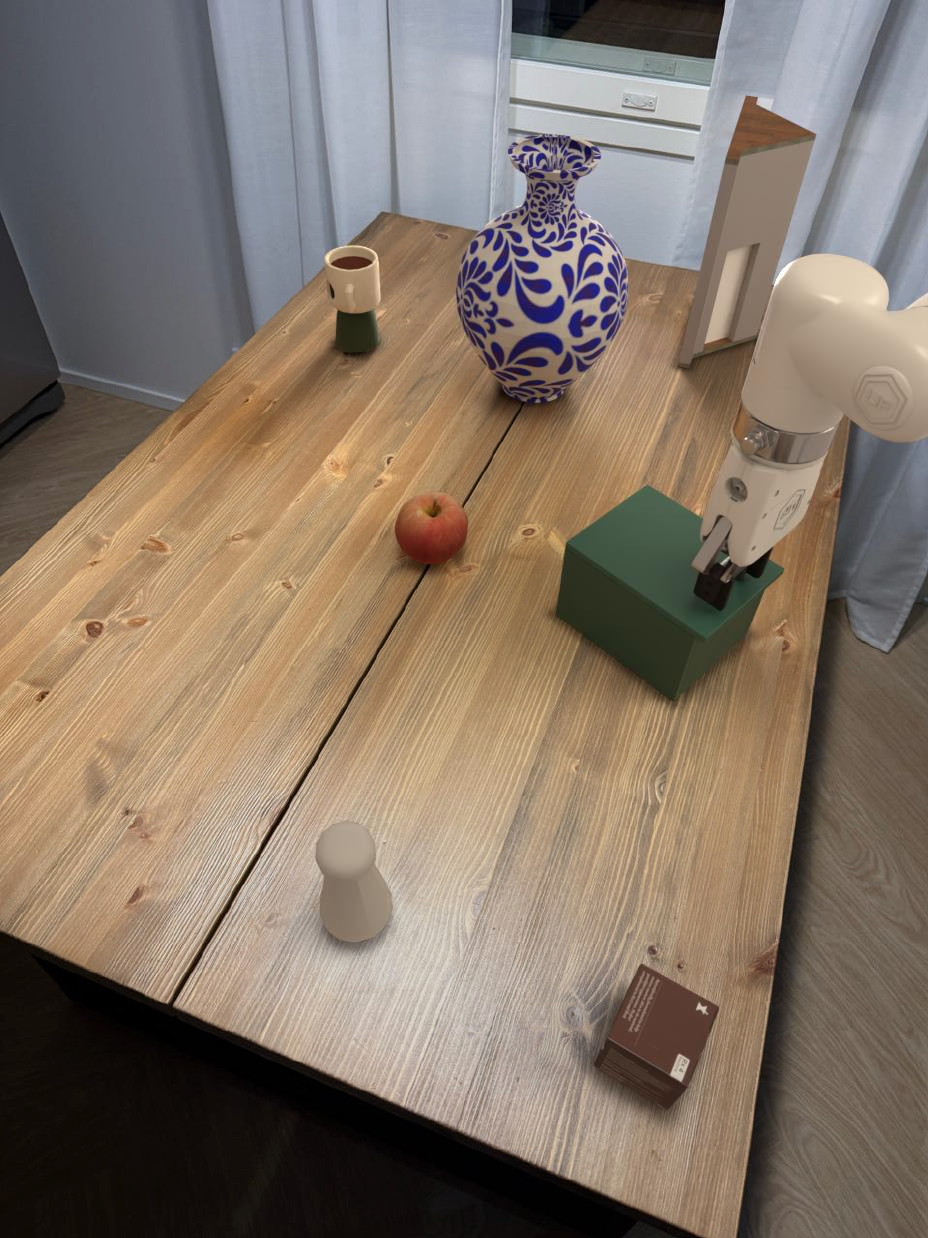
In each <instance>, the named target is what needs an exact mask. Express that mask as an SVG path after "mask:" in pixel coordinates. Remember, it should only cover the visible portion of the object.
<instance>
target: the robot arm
mask: <svg viewBox="0 0 928 1238" xmlns="http://www.w3.org/2000/svg"><path fill="white" fill-rule="evenodd" d="M770 293H771V294H770V297H769V300H768V303H767V307H766V311H765V312H764V313H765V314H764V317H763V321H762V323H761V327H760V330H759V333H758V337H757V340H756V344H755V347H754V350H753V354H752V356H751V360H750V363H749V368H748V371H747V373H746V378H745V380H744V384H743V388H742V391H741V394H740V397H739V399H738V400H739V401H738V404H737V407H736V410H735V414H734V417H733V421H732V423H731V427H730V437H731V440H732V444H731V446H730V448H729V451H728V452H727V455H726V457H725V459H724V462H723V464H722V466H721V468H720V471H719V473H718V476H717V478H716V481H715V483H714V486H713V488H712V492H711V494H710V497H709V500H708V502H707V505H706V509H705V512H704V515H703V517H702V518H703V522H702V526H701V531H700V540H701V542H702V543H704V545H703V546H702V548H701V549H700V551H699V552H698V554H697V555H696V557H695V559H694V560H693V562H692V564H691V567H693V568H694V569H696V570H697V571H699V574H698V578H697V581H696V584H695V587H694V590H693V592H694V594H695V595H696V596H697V597H699V598H700V599H702V600H703V601H705V602H706V603H708V604H709V605H711V606H712V607H714V608H715V609H717V610H719V611H722V610H723V609H724V608H725V607H726V605H727V602H728V599H729V597H730V594H731V591H732V588H733V585H734V583H735V580H736V579H735V578H734V577H733V574H734V572H735V570H736V568H737V566H739V567H744V566H748V565H749V566H748V568H747V571H746V573H747V574H749V575H750V576H752V577H754V578H760V577H761V576H762V575H763V573H764V570H765V568H766V565H767V562H768V560H769V559H770V557H771V554H772V552H773V551H774V550H773V549H774V547H775V546H776V545H777V544H778V543H779V542H780V541H781V540H782V539H784V538H785V537H786V536H787V535H788V534H789V533H790V532H792V531H793V530H794V529H795V528H796V527H797V526H798V525H800V523H801V521H802V520H803V519H804V517H805V516H806V514H807V511H808V508H809V506H810V503H811V500H812V498H813V495H814V492H815V489H816V486H817V484H818V481H819V478H820V474H821V472H822V468H823V466H824V463H825V458H827V455H828V453H829V451H830V449H831V447H832V444H833V442H834V439H835V437H836V434H837V432H838V429H839V427H840V424H841V422H842V419H843V417H844V415H845V416H846V417H847V418H848V419H849V420H850V421H852V422H853V423H855V424H856V425H857V426H858V427H860V428H861V429H863V430H864V431H865V432H867V433H869V434H870V435H872V436H873V437H876V438H878V439H880V440H884V441H886V442H890V443H891V442H892V443H899V444H905V443H913V442H917V441H921V440H924V439H925V438H928V292H927V293H925V294H924V295H921V296H920V297H919V298H918V299H916V300H915V301H914V302H912V303H911V304H910V305H908V306H906V308H904V309H899V310H892V311H890V310H888V305H889V300H890V291H889V286H888V283H887V281H886V278H884V277H883V275H882V274H881V273H880V272H879V271H878V270H877V269H876V268H875V267H873V266H871V265H869V264H868V263H866V262H864V261H861V260H859V259H856V258H853V257H850V256H846V255H840V254H833V253H813V254H808V255H805V256H801V257H799V258H796V259H794V260H792V261H791V262H790V263H788V264H787V265H786V266H784V268H783V269H782V270H781V271H780V273H779V274H778V277H776V279H775V282H774V286H773V288H772V290H771V292H770ZM720 552H723V553H724V554H726V555H727V556H729V557H730V559H729V561H728V563H727V565H726V567H724V566H723V565H721V564H720V563H718V562H717V561H716V559H717V557H718V555H719V554H720Z"/></svg>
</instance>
